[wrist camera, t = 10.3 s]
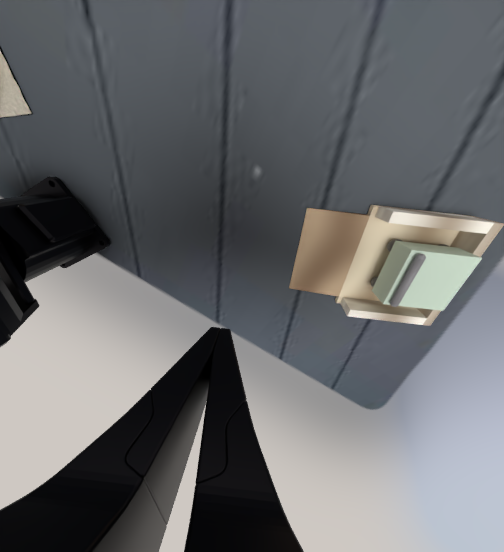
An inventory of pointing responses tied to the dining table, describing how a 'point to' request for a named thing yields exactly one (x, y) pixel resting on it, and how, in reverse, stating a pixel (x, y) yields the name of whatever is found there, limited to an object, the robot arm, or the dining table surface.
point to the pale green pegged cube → (422, 274)
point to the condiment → (10, 93)
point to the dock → (376, 253)
